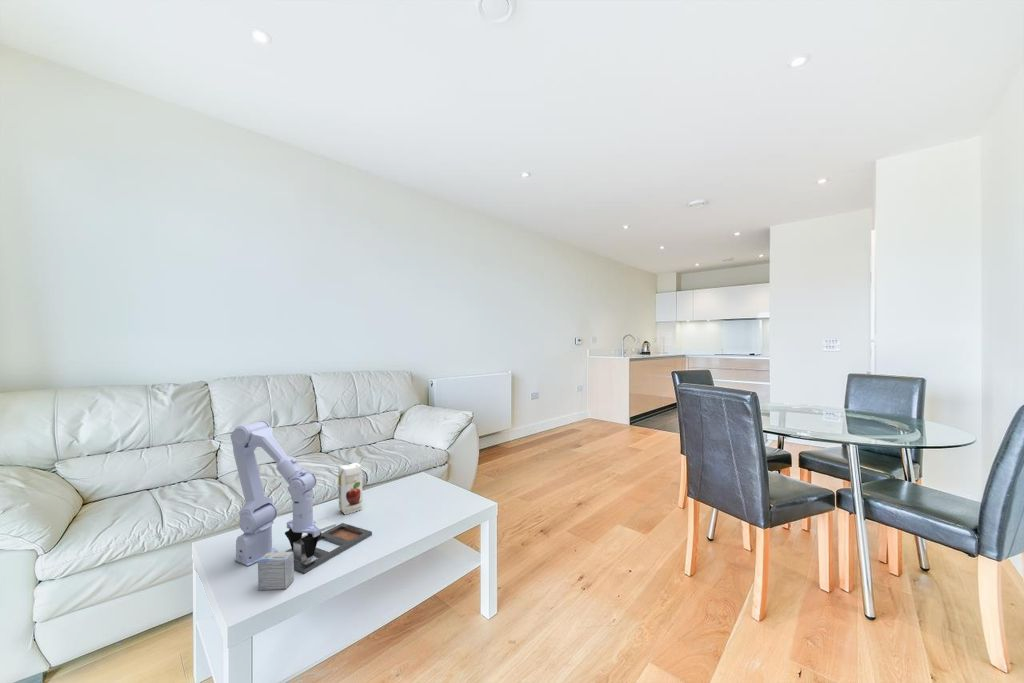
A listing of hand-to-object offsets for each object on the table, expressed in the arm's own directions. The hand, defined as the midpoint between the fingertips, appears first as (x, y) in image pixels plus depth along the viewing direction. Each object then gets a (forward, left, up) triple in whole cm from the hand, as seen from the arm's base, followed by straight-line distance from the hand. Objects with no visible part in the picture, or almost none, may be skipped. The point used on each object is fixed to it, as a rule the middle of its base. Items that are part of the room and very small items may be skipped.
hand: (303, 553), depth 121 cm
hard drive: (+15, +16, -2) cm, 22 cm away
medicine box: (-12, -6, -2) cm, 14 cm away
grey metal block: (0, 0, -2) cm, 2 cm away
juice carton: (+32, +17, -2) cm, 36 cm away
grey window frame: (+8, 0, -2) cm, 8 cm away
